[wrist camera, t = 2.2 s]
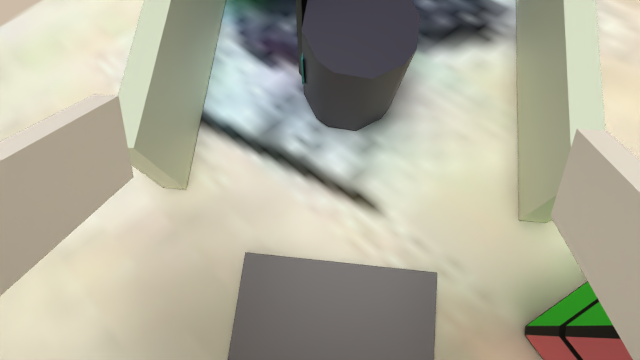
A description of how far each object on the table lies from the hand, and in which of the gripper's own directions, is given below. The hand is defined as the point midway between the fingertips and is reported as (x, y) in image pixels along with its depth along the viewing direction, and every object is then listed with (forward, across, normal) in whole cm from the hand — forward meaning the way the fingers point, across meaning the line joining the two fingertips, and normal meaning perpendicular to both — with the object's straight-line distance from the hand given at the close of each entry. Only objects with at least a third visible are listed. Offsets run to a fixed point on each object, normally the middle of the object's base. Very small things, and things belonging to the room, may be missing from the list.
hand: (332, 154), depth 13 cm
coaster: (+5, 0, -15) cm, 16 cm away
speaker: (+17, 0, -3) cm, 18 cm away
